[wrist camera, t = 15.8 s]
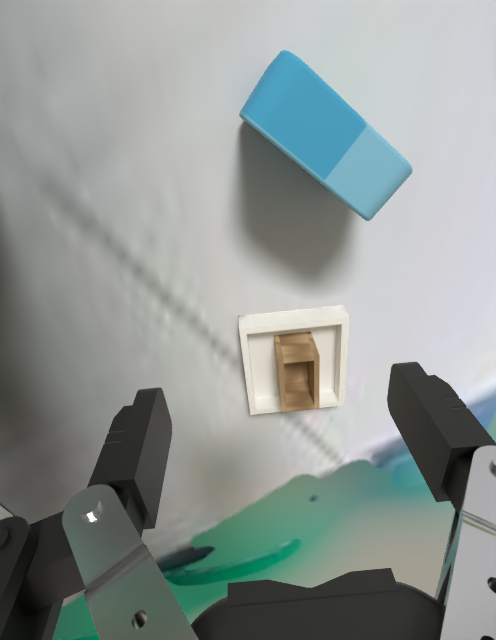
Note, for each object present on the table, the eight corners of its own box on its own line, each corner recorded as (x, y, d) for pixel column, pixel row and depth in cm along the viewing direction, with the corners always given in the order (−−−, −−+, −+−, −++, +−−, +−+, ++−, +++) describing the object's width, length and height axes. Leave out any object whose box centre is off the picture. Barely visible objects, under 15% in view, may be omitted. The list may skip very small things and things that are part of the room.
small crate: (277, 384, 48) (281, 412, 44) (273, 335, 44) (278, 359, 40) (311, 381, 48) (319, 408, 44) (310, 331, 44) (319, 355, 40)
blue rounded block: (365, 155, 35) (422, 173, 24) (333, 194, 36) (374, 227, 26) (267, 66, 31) (286, 43, 20) (237, 115, 33) (240, 117, 22)
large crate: (249, 399, 50) (250, 414, 48) (238, 315, 43) (239, 329, 41) (338, 390, 50) (344, 405, 47) (342, 304, 43) (349, 317, 40)
